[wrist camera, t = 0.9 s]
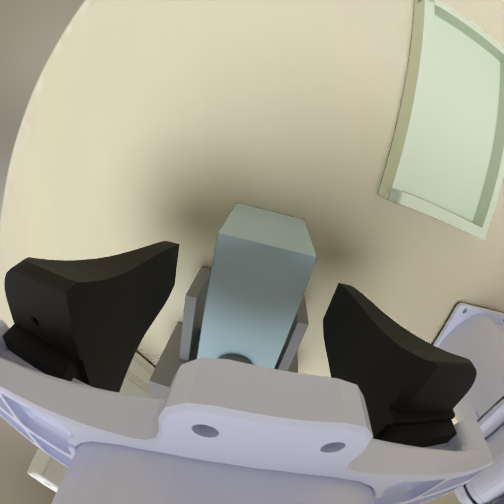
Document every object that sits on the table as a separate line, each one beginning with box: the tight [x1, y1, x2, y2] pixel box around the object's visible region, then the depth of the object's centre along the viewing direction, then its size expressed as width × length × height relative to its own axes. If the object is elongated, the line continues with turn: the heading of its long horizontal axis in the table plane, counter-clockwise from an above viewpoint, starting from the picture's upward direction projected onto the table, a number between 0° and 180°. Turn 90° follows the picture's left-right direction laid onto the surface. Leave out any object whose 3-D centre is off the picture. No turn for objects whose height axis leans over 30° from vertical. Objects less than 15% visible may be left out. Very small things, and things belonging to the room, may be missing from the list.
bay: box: [149, 267, 308, 400], centre depth 16 cm, size 9×8×6 cm
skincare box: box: [27, 352, 155, 492], centre depth 16 cm, size 8×6×15 cm
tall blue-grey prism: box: [197, 203, 317, 369], centre depth 15 cm, size 4×9×6 cm, turn 167°
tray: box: [378, 0, 504, 240], centre depth 11 cm, size 8×14×2 cm, turn 167°
